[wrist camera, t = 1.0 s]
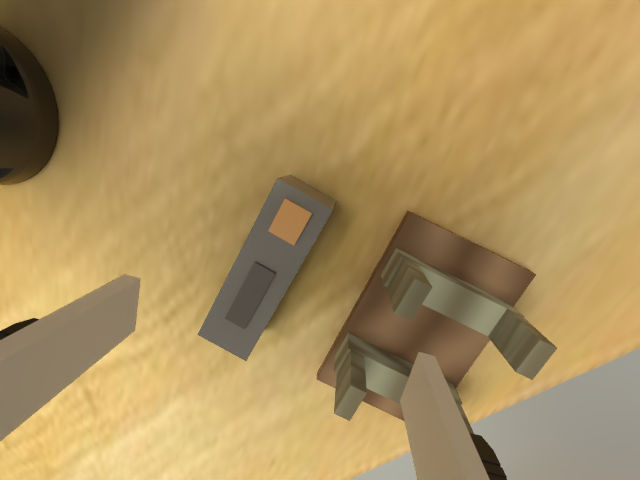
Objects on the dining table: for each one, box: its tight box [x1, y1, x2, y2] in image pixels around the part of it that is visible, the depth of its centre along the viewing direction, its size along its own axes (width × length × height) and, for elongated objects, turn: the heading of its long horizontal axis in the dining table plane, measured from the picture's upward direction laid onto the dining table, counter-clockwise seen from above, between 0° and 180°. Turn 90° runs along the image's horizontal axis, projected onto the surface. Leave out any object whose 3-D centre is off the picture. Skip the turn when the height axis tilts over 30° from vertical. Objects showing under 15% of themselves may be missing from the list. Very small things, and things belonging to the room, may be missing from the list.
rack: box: [317, 211, 557, 434], centre depth 29 cm, size 13×20×9 cm, turn 155°
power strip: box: [198, 175, 336, 361], centre depth 30 cm, size 5×16×6 cm, turn 151°
